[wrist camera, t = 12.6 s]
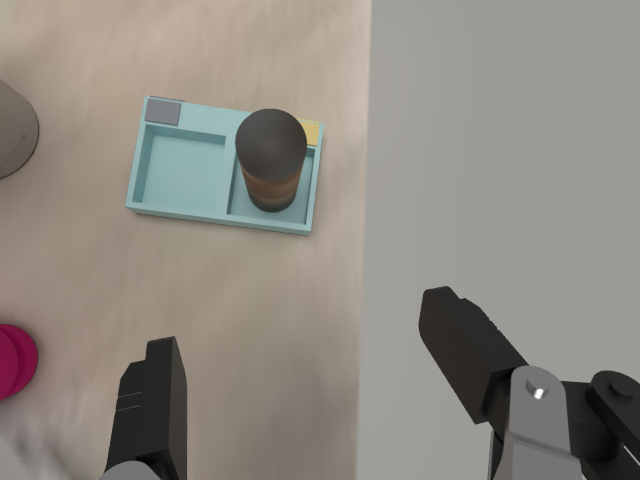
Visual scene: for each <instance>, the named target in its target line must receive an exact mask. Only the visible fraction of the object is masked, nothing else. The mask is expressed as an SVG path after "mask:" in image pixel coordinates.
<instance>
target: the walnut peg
mask: <svg viewBox="0 0 640 480" xmlns="http://www.w3.org/2000/svg"><path fill="white" fill-rule="evenodd" d="M235 148H236V153H237V156H238V160H239V163H240V167H241V170H242V174H243V177H244V181H245V184H246V188H247V191H248V195H249V198H250V200H251V202H252V203H253V204H254V205H255V206H256V207H257V208H258V209H260V210H262V211H264V212H269V213H276V212H280V211H283V210H285V209H286V208H288V207H289V206H290V205H291V204H292V202H293V201H294V199H295V196H296V193H297V188H298V184H299V180H300V176H301V172H302V168H303V164H304V160H305V156H306V152H307V137H306V134H305V131H304V129H303V127H302V125H301V124H300V123H299V121H298V120H297V119H296V118H294V117H293V116H292V115H290V114H289V113H287V112H284V111H282V110H278V109H263V110H259V111H256V112H254V113H252V114H251V115H249V116H248V117H247V118H245V119H244V121H243V122H242V123H241V124H240V126H239V128H238V130H237V133H236V137H235Z"/></svg>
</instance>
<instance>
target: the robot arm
mask: <svg viewBox="0 0 640 480" xmlns="http://www.w3.org/2000/svg"><path fill="white" fill-rule="evenodd" d="M37 137H38V122H37V118H36V115H35V112H34V110H33V109H32V107H31V105H30V104H29V103H28V102H27V101H26V99H25V98H24V97H23V96H21V95H20V94H19V93H18V92H16V91H15V90H14V89H12V88H11V87H10V86H8V85H7V84H6V83H4V82H3V81H2V80H1V79H0V178H1V177H4V176H7V175H9V174H11V173H12V172H14V171H15V170H17V169H18V168H19V167H21V166H22V165H23V164H24V163H25V162H26V161H27V159H28V158H29V157H30V155H31V154H32V152H33V150H34V147H35V145H36V143H37ZM419 332H420V336H421V338H422V340H423V342H424V344H425V345H426V347H427V349H428V350H429V352H430V353H431V355H432V357H433V358H434V360H435V361H436V363H437V365H438V366H439V368H440V369H441V371H442V373H443V374H444V376H445V377H446V379H447V380H448V382H449V384H450V385H451V387H452V388H453V390H454V392H455V393H456V394H457V396H458V398H459V400H460V401H461V403H462V404H463V406H464V408H465V409H466V411H467V412H468V414H469V416H470V417H471V419H472V420H473V422H474V423H475V425H476V424H480V423H483V422H487V421H488V422H489V423H490V425H491V426H492V428H493V429H492V432H491V441H490V453H489V465H488V477H487V480H582V474H583V475H584V476H585V478H586V479H587V480H640V466H639V465H638V463H637V462H636V461H635V460H634V459H633V458H632V457H631V455H630V454H629V453H628V452H627V450H626V449H625V448H624V446H626V447H627V449H628V450H629V451H630V452H631V453H632V455H633V456H634V457H635V458H636V459H637V460H638V462H640V384H639V383H638V382H637V381H635V380H634V379H632V378H630V377H629V376H626V375H624V374H622V373H619V372H615V371H600V372H598V373H596V374H595V375H594V377H593V379H592V381H591V382H590V383H582V382H568V381H559V379H558V378H556V377H555V376H554V375H553V374H551V373H550V372H548V371H547V370H544V369H542V368H539V367H535V366H530V365H529V364H528V363H527V362H526V361H525V360H524V359H523V357H522V356H521V355H520V354H519V353H518V352H517V350H516V349H515V348H514V347H513V346H512V345H511V344H510V342H509V341H508V340H507V339H506V338H505V336H504V335H503V334H502V333H501V332H500V331H499V330H497V327H496V326H495V325H494V324H493V322H492V321H490V320H489V318H488V317H487V316H486V314H485V313H484V312H483V311H482V310H481V308H480V307H478V306H477V305H475V304H473V303H472V302H470V301H469V300H467V299H466V298H464V299H459V298H458V296H457V295H456V294H455V293H454V292H453V290H452V289H451V288H450V287H448V286H444V287H438V288H433V289H428V290H425V292H424V293H423V299H422V305H421V312H420V318H419ZM99 480H187V382H186V375H185V370H184V366H183V363H182V359H181V355H180V352H179V348H178V345H177V341H176V338H175V336H173V337H167V338H162V339H157V340H151V341H148V343H147V349H146V358H145V360H143V361H138V362H133V363H130V365H129V366H128V368H127V370H126V371H125V373H124V374H123V376H122V378H121V379H120V386H119V392H118V399H117V404H116V413H115V416H114V422H113V429H112V435H111V441H110V447H109V453H108V459H107V464H106V468H105V471H104V473H103V475H102V476H101V477H100V478H99Z"/></svg>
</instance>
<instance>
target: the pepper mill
mask: <svg viewBox="0 0 640 480" xmlns="http://www.w3.org/2000/svg"><path fill="white" fill-rule="evenodd" d="M36 366H37V350H36V347H35V344H34V342H33V340H32V339H31V337H30V336H29V335H28V334H27V333H26V332H25V331H23V330H22V329H20V328H18V327H15V326H12V325H8V324H0V401H1V400H2V399H4V398H6V397H9V396H11V395H13V394H15V393H17V392H19V391H20V390H21V389H23V388H24V387H25V386H26V385H27V383H28V382H29V381H30V380H31V378H32V376H33V374H34V372H35V369H36Z"/></svg>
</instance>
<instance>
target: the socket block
mask: <svg viewBox="0 0 640 480" xmlns="http://www.w3.org/2000/svg"><path fill="white" fill-rule="evenodd" d="M251 114H252V113H251V112H244V111H238V110H231V109H225V108H218V107H211V106H205V105H198V104H192V103H185V101H181V100H175V99H168V98H162V97H155V96H150V97H146V96H145V99H144V105H143V110H142V116H141V121H140V127H139V132H138V138H137V143H136V148H135V154H134V159H133V165H132V170H131V176H130V181H129V187H128V192H127V198H126V203H125V207H126V208H128V209H130V210H132V211H134V212H135V213H139V214H147V215H155V216H162V217H170V218H178V219H185V220H193V221H201V222H208V223H216V224H224V225H231V226H239V227H247V228H254V229H262V230H270V231H277V232H285V233H293V234H300V235H308V236H309V234H310V232H311V226H312V218H313V209H314V201H315V193H316V185H317V177H318V168H319V160H320V152H321V144H322V136H323V127H324V124H323V123H321V122H319V121H312V120H306V119H299V118H296V119H297V120H298V121H299V123H300V124H301V125H302V127H303V129H304V131H305V134H306V137H307V152H306V156H305V160H304V164H303V168H302V172H301V176H300V180H299V184H298V188H297V193H296V196H295V199H294V201H293V202H292V204H291V205H290V206H289V207H288V208H286V209H285V210H283V211H280V212H276V213H269V212H264V211H262V210H260V209H258V208H257V207H256V206H255V205H254V204H253V203H252V202H251V200H250V198H249V195H248V191H247V188H246V184H245V181H244V177H243V174H242V170H241V167H240V163H239V160H238V156H237V153H236V148H235V137H236V133H237V130H238V128H239V126H240V124H241V123H242V122H243V121H244V119H245V118H247V117H248V116H249V115H251Z"/></svg>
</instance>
